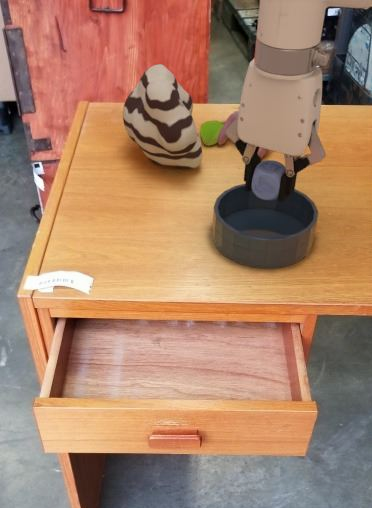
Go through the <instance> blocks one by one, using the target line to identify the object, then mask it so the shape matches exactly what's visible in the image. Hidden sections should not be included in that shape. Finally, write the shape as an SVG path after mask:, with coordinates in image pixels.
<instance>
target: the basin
mask: <svg viewBox="0 0 372 508" xmlns="http://www.w3.org/2000/svg"><path fill="white" fill-rule="evenodd" d="M245 184H246V183H242V184H238V185H234V186H232V187H230V188H228V189H226V190H224V191H223V192H222V193H221V194H220V195H219V196H218V197H217V198H216V199H215V202H214V205H213V212H212V213H213V214H212V215H213V217H212V241H213V243H214V246H215V248H216V249H217V250H218V251H219V252H220V253H221V254H222V255H223V256H224V257H226V258H227V259H228V260H230V261H233V262H234V263H236V264H239V265H242V266H245V267H249V268H257V269H265V270H267V269H268V270H269V269H280V268H284V267H289V266H292V265H294V264H296V263H299V262H300V261H302V260H303V259H305V257H306V256H307V255H308V254H309V253H310V251H311V250H312V247H313V243H314V239H315V233H316V230H317V229H316V228H317V223H318V217H319V210H318V208H317V206H316V203H315V202H314V201H313V200H312V199H311V198H310V197H309V196H308V195H307V194H306V193H304V192H302V191H300V190H299V189H296V188H295V189H294V192H293V194H292V195H291V196H290V195H289V196H288V197H287V198H286V199H285V200H284V201H283V202H280V201H279V200H278V199H275V200H263V199H260V198H258V197H257V196H256V195H255V194H254V193H253V191H252V190H251V191H249V192H248V191H245Z"/></svg>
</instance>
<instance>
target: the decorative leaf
mask: <svg viewBox="0 0 372 508" xmlns="http://www.w3.org/2000/svg"><path fill="white" fill-rule="evenodd" d="M224 124H225V122H222V121H219V120H207V121H204V122H203V123H202V124H201V125H200V137H201V138H200V139H201V141H202V143H203V145H205V146H206V147H207V146H208V147H210V146H213V145H215V144H218V135H219V133H220V131H221V129H222V127H223V125H224Z"/></svg>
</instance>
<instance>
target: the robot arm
mask: <svg viewBox="0 0 372 508" xmlns="http://www.w3.org/2000/svg"><path fill="white" fill-rule="evenodd" d="M329 7H335V8H336V7H338V8H339V7H340V8H351V9H367V8H372V0H259V7H258V18H257V29H256V37H255V48H254V57H253V59H252V60H250V62H249V63H248V67H247V71H246V74H245V77H244V82H243V86H242V90H241V96H240V99H239V105H238V111H239V113H238V117H237V118H236V119H235V120H234V121H233V122H232V124H231V125H230V126H229V127H228V128H227V129H226V131H225V132H226V135H227V136H228V137H229V138H228V139H229V140H231V142H232V144H233V143H234V145H235V148H236V149H237V151H238V152H239V154H240V155H241V157H242V158H241V161H242V162H243V164H244V171H243V181H244V182H245V183H244V184H245V191H248V192H249V191H251V190H252V179H253V175H254V171H255V169H256V166H257V165H258V164H259V163H260V162H262V158H261V157H260V156H259V155H258V153H259V150H260V148H261V147H262V148H265V149H268V151H272V152H276V153H280V154H281V155H282V154H283V156H284V158H283V159H284V166H285V173H284V174H283V175H282V176H281V182H280V189H279V195H278V200H279V201H280V202H283V201H284V200H285V199H286V198H287V197H288V196H289V195H290V196H291V195H292V194H293V192H294V189H296V183H297V176H298V173H300V172H301V171H303V170H305V169H306V168H307V167H310V166H313V165H316V164H318V163H320V162H322V161H323V160H324V159H325V157H326V156H327V153H326V150H325V148H324V146H323V144H322V141H321V139H320V137H319V134H318V133H319V129H320V119H321V113H322V111H321V110H322V98H323V71H322V69H321V68H320V67H321V66H323V67H327V66H328V63H329V60H330V53H327V52H325V51H323V50H322V44H323V43H322V42H321V39H322V34H323V27H324V22H325V16H326V11H327V10H326V9H327V8H329ZM307 147H308V149H309V152H310V153H307V154H305V153H306V149H307ZM260 158H261V159H260Z"/></svg>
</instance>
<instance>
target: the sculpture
mask: <svg viewBox="0 0 372 508" xmlns="http://www.w3.org/2000/svg"><path fill="white" fill-rule="evenodd" d="M193 110H194V101H193V99H192V96H191V95H190V94H189V92H187V91H186V90H185V89H184V88H183V87H182V85H181V84H180V83H179V82H178V81H177V79H176V77H175V75H174V74H173V72H172V71H170V70H169V69H168V68H167V67H166V66H165V64H161V63H159V64H154V65H151V66H150V67H149V68H147V69H146V70H145V71H144V72H143V73H142V75H141V77H140V79H139V82H138V83H137V84H136V85H135V87H134V88H133V89H132V91H131V92H130V93H129V94H128V96H127V98H126V100H125V102H124V104H123V108H122V121H123V125H124V129H125V131H126V133H127V135H128V137H129V138H130V140H132V141H133V142H135V143H136V144H137V147H138V148H139V149H140V150H141V151H142V152H143V154H144V155H145V157H146V158H147V159H148V160H149V162H151V163H152V164H153V165H155V166H157V167H176V168H178V169H181V170H185V171H190V170H191V171H192V170H194V169H196V168H198V167H199V166H200V165H201V163H202V160H203V147H202V142H201V141H202V140H201V138H200V136H199V134H198V131H197V127H196V123H195V120H194V117H193Z"/></svg>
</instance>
